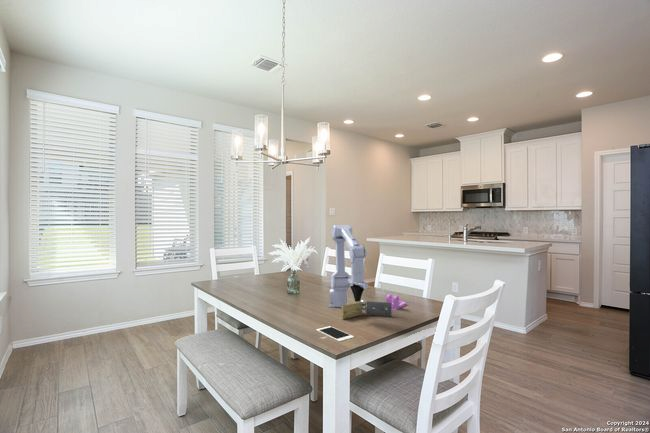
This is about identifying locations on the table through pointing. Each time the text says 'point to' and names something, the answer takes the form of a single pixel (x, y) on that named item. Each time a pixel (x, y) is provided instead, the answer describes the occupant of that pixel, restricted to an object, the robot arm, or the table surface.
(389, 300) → the bracket
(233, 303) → the table surface
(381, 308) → the dark grey piece
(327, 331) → the cell phone
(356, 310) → the brass leaf
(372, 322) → the table surface
